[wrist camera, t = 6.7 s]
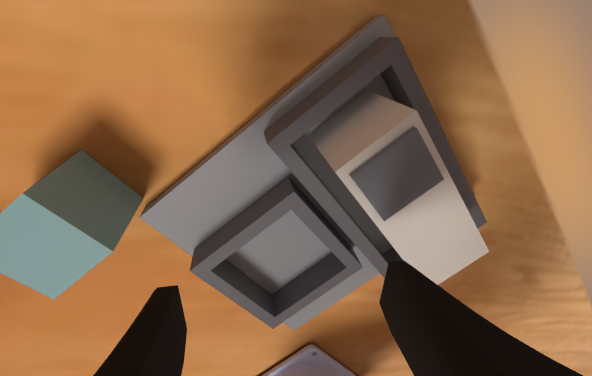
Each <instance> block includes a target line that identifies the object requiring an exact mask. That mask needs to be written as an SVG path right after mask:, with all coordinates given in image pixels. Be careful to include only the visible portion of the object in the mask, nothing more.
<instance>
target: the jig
mask: <svg viewBox="0 0 592 376" xmlns="http://www.w3.org/2000/svg"><path fill="white" fill-rule="evenodd" d="M366 90H369V91H371V92H374V93H376V94H378V95H381V96H383V97H386V98H388V99H390V100H393V101H395V102H398V103H400V104H403V105H405V106H407V107H410V108H412V109H415V110H417V112H418V114H419V116H420V118H421V120H422V122H423V124H424V126H425V128H426V130H427V132H428V134H429V135H430V137H431V139H432V141H433V143H434V145H435V147H436V149H437V151H438V153H439V155H440V157H441V159H442V161H443V163H444V165H445V167H446V169H447V170H448V172H449V174H450V176H451V178H452V180H453V182H454V184H455V186H456V188H457V190H458V192H459V194H460V196H461V198H462V200H463V202H464V204H465V206H466V207H467V209H468V211H469V213H470V215H471V217H472V219H473V221H474V223H475V225H476V227H477V228H479V227H480V226H482V225H483V224H485V223H486V219H485V217H484V215H483V213H482V211H481V209H480V207H479V205H478V203H477V201H476V199H475V196H474V194H473V192H472V190H471V188H470V186H469V184H468V182H467V180H466V178H465V176H464V173H463V171H462V169H461V167H460V165H459V163H458V161H457V159H456V157H455V155H454V153H453V150H452V148H451V146H450V144H449V142H448V140H447V138H446V136H445V134H444V132H443V130H442V127H441V125H440V123H439V121H438V119H437V117H436V115H435V113H434V111H433V109H432V107H431V104H430V102H429V100H428V98H427V96H426V94H425V92H424V90H423V88H422V86H421V84H420V82H419V79H418V77H417V75H416V73H415V71H414V69H413V67H412V65H411V63H410V61H409V59H408V56H407V54H406V52H405V50H404V48H403V46H402V44H401V42H400V40H399V38H398V37H395V35H394V33H393V31H392V29H391V27H390V25H389V23H388V21H387V19H386V17H385V15H379V16H375V17H374V18H373V19H372V20H370V21H369V22H368V23H367V24H366V25H364V26H363V27H362V28H361V29H360V30H358V31H357V32H356V33H355V34H354V35H352V36H351V37H350V38H349V39H348V40H346V41H345V42H344V43H343V44H342V45H340V46H339V47H338V48H337V49H336V50H334V51H333V52H332V53H331V54H330V55H328V56H327V57H326V58H325V59H324V60H322V61H321V62H320V63H319V64H318V65H316V66H315V67H314V68H313V69H312V70H310V71H309V72H308V73H307V74H306V75H304V76H303V77H302V78H301V79H300V80H298V81H297V82H296V83H295V84H293V85H292V86H291V87H290V88H289V89H287V90H286V91H285V92H284V93H283V94H281V95H280V96H279V97H278V98H277V99H275V100H274V101H273V102H272V103H271V104H269V105H268V106H267V107H266V108H265V109H263V110H262V111H261V112H260V113H259V114H257V115H256V116H255V117H254V118H253V119H251V120H250V121H249V122H248V123H247V124H245V125H244V126H243V127H242V128H241V129H239V130H238V131H237V132H236V133H235V134H233V135H232V136H231V137H230V138H229V139H227V140H226V141H225V142H224V143H223V144H221V145H220V146H219V147H218V148H217V149H215V150H214V151H213V152H212V153H210V154H209V155H208V156H207V157H206V158H204V159H203V160H202V161H201V162H200V163H198V164H197V165H196V166H195V167H194V168H192V169H191V170H190V171H189V172H188V173H186V174H185V175H184V176H183V177H182V178H180V179H179V180H178V181H177V182H176V183H174V184H173V185H172V186H171V187H170V188H168V189H167V190H166V191H165V192H164V193H162V194H161V195H160V196H159V197H158V198H156V199H155V200H154V201H153V202H152V203H150V204H149V205H148V206H147V207H146V208H144V210H143V212H142V214H141V216H140V218H141V219H142V220H144V221H145V222H146V223H148V224H149V225H150V226H152V227H153V228H154V229H156V230H157V231H159V232H160V233H161V234H163V235H164V236H165V237H167V238H168V239H170V240H171V241H172V242H174V243H175V244H176V245H178V246H179V247H181V248H182V249H183V250H185V251H186V252H187V253H189V254H190V255H191V256H193V257H192V262H191V268H190V271H191V272H192V273H194V274H195V275H197V276H198V277H199V278H201V279H202V280H204V281H205V282H207V283H208V284H209V285H211V286H212V287H214V288H215V289H217V290H218V291H220V292H221V293H222V294H224V295H225V296H227V297H228V298H230V299H231V300H232V301H234V302H235V303H237V304H238V305H240V306H241V307H243V308H244V309H245V310H247V311H248V312H250V313H251V314H253V315H254V316H255V317H257V318H258V319H260V320H261V321H263V322H264V323H266V324H267V325H268V326H270V327H271V328H275V327H276V326H278V325H279V324H281V323H282V322H283V323H285V324H286V325H287V326H289V327H290V328H291V329H293V330H296V329H297V328H298V327H300V326H301V325H303V324H304V323H306V322H307V321H309V320H310V319H312V318H313V317H315V316H316V315H318V314H319V313H321V312H322V311H324V310H325V309H327V308H328V307H330V306H331V305H333V304H334V303H336V302H337V301H339V300H340V299H342V298H343V297H345V296H346V295H348V294H349V293H351V292H352V291H354V290H355V289H357V288H358V287H359V286H361V285H362V284H364V283H365V282H367V281H368V280H370V279H371V278H373V277H374V276H376V275H377V274H379V273H380V274H381V275H382V276H383V277H384V278H385V276H386V271H387V267H388V262H395V261H404V260H403V259H402V258H401V257H400V255H399V254H398V253H397V251H396V250H395V249H394V248H393V246H392V245H391V244H390V242H389V241H388V240H387V239H386V237H385V236H384V235H383V233H382V232H381V231H380V230H379V228H378V227H377V226H376V224H375V223H374V222H373V221H372V219H371V218H370V217H369V215H368V214H367V213H366V211H365V210H364V209H363V208H362V206H361V205H360V204H359V202H358V201H357V200H356V199H355V197H354V196H353V195H352V193H351V192H350V191H349V190H348V188H347V187H346V186H345V184H344V183H343V182H342V181H341V179H340V178H339V177H338V175H337V174H336V173H335V172H334V170H333V169H332V167H331V166H330V165H329V163H328V162H327V161H326V159H325V158H324V156H323V155H322V154H321V152H320V151H319V150H318V148H317V147H316V145H315V144H314V143H313V141H312V140H311V139H310V137H309V135H311V134H312V133H313V132H314V131H316V130H317V129H318V128H319V127H321V126H322V125H323V124H324V123H326V122H327V121H328V120H329V119H331V118H332V117H333V116H334V115H336V114H337V113H338V112H340V111H341V110H342V109H343V108H345V107H346V106H347V105H348V104H350V103H351V102H352V101H353V100H355V99H356V98H357V97H358V96H360V95H361V94H362V93H364V92H365V91H366Z"/></svg>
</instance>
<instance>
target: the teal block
mask: <svg viewBox="0 0 592 376" xmlns="http://www.w3.org/2000/svg"><path fill="white" fill-rule="evenodd" d="M142 200H143V197H141V196H140V195H139V194H137V193H136V192H135V191H134V190H132V189H131V188H130V187H128V186H127V185H126V184H125V183H123V182H122V181H121V180H119V179H118V178H117V177H116V176H114V175H113V174H112V173H110V172H109V171H108V170H107V169H105V168H104V167H103V166H101V165H100V164H99V163H98V162H96V161H95V160H94V159H92V158H91V157H90V156H89V155H87V154H86V153H85V152H83V151H82V150H80V151H79V152H78V153H76V154H75V155H74V156H72V157H71V158H70V159H68V160H67V161H66V162H64V163H63V164H61V165H60V166H59V167H57V168H56V169H55V170H53V171H52V172H51V173H49V174H48V175H47V176H45V177H44V178H43V179H41V180H40V181H39V182H37V183H36V184H34V185H33V186H32V187H30V188H29V189H28V190H26V191H25V192H24V193H22V194H21V195H20V196H19V197H18V198H17V199H16V200H15V201H14V202H12V203H11V204H10V205H9V206H8V207H7V208H6V209H5V210H4V211H3V212H1V213H0V273H2V274H4V275H6V276H8V277H10V278H12V279H14V280H16V281H18V282H20V283H22V284H24V285H26V286H28V287H30V288H32V289H34V290H36V291H38V292H40V293H42V294H44V295H46V296H48V297H50V298H52V299H55V298H56V297H58V296H59V295H60V294H61V293H63V292H64V291H65V290H66V289H67V288H69V287H70V286H71V285H72V284H74V283H75V282H76V281H77V280H79V279H80V278H81V277H82V276H84V275H85V274H86V273H87V272H88V271H90V270H91V269H92V268H93V267H95V266H96V265H97V264H98V263H100V262H101V261H102V260H103V259H104V258H106V257H107V256H108V255H109V254H111V253H112V252H113V251H114V249H115V247H116V246H117V244H118V242H119V240H120V238H121V237H122V235H123V233H124V231H125V230H126V228H127V226H128V224H129V223H130V221H131V219H132V217H133V216H134V214H135V212H136V210H137V209H138V207H139V205H140V203H141V202H142Z"/></svg>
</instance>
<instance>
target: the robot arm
mask: <svg viewBox="0 0 592 376" xmlns="http://www.w3.org/2000/svg"><path fill="white" fill-rule="evenodd" d="M380 305H381V308H382V311H383V313H384V316H385V319H386V321H387V324H388V326H389V329H390V331H391V333H392V335H393V337H394V339H395V341H396V342H397V344H398V346H399V348H400V350H401V352H402V354H403V356H404V357H405V359H406V361H407V363H408V365H409V367H410V369H411V370H412V372H413V374H414V376H583V375H581V374H579V373H577V372H575V371H573V370H571V369H569V368H567V367H566V366H564V365H562V364H560V363H558V362H556V361H554V360H552V359H551V358H549V357H547V356H545V355H543V354H542V353H540V352H538V351H536V350H535V349H533V348H531V347H530V346H528V345H526V344H525V343H523V342H521V341H519V340H518V339H516V338H514V337H513V336H511V335H509V334H508V333H506V332H505V331H503V330H501V329H500V328H498V327H497V326H495V325H494V324H492V323H491V322H489V321H488V320H486V319H485V318H483V317H482V316H480V315H479V314H477V313H476V312H474V311H473V310H471V309H470V308H469V307H467V306H466V305H464V304H463V303H461V302H460V301H459V300H457V299H456V298H454V297H453V296H452V295H450V294H449V293H448V292H446V291H445V290H444V289H442V288H441V287H440V286H438V285H437V284H435V283H434V282H433V281H431V280H430V279H429V278H427V277H426V276H425V275H423V274H422V273H421V272H419V271H418V270H417V269H415V268H414V267H413V266H411V265H410V264H408V263H407V262H406V261H395V262H388V267H387V271H386V276H385V280H384V285H383V289H382V294H381V298H380ZM186 334H187V327H186V322H185V317H184V313H183V308H182V303H181V298H180V294H179V289H178V285H177V286H168V287H159V288H157V289H156V290H155V291H154V292H153V293H152V295H151V297H150V298H149V300H148V301H147V303H146V304H145V306H144V307H143V309H142V310H141V312H140V313H139V315H138V316H137V318H136V319H135V320H134V322H133V323H132V325H131V326H130V328H129V329H128V330H127V332H126V333H125V335H124V336H123V337H122V339H121V340H120V341H119V343H118V344H117V345H116V347H115V348H114V350H113V351H112V352H111V354H110V355H109V356H108V358H107V359H106V360H105V362H104V363H103V364H102V365H101V367H100V368H99V369H98V370H97V372H96V373H95V374H94V375H93V376H181V373H182V368H183V363H184V354H185V345H186ZM262 376H356V375H355V374H353V373H352V372H350V371H349V370H348V369H346V368H345V367H344V366H342V365H341V364H340V363H338V362H337V361H335V360H334V359H333V358H331V357H330V356H329V355H327V354H326V353H324V352H323V351H322V350H320V349H319V348H318V347H316V346H315V345H312V344H311V345H308V346H306V347H304V348H303V349H301V350H300V351H298V352H297V353H295V354H294V355H292V356H291V357H289V358H288V359H286V360H285V361H283V362H282V363H280V364H279V365H277V366H276V367H274V368H272V369H271V370H269V371H268V372H266V373H265V374H263V375H262Z"/></svg>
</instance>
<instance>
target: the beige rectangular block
mask: <svg viewBox="0 0 592 376" xmlns="http://www.w3.org/2000/svg"><path fill="white" fill-rule="evenodd" d="M309 137H310V139H311V140H312V141H313V143H314V144H315V145H316V147H317V148H318V150H319V151H320V152H321V154H322V155H323V156H324V158H325V159H326V161H327V162H328V163H329V165H330V166H331V167H332V169H333V170H334V172H335V173H336V174H337V175H338V177H339V178H340V179H341V181H342V182H343V183H344V184H345V186H346V187H347V188H348V190H349V191H350V192H351V193H352V195H353V196H354V197H355V199H356V200H357V201H358V202H359V204H360V205H361V206H362V208H363V209H364V210H365V211H366V213H367V214H368V215H369V217H370V218H371V219H372V221H373V222H374V223H375V224H376V226H377V227H378V228H379V230H380V231H381V232H382V233H383V235H384V236H385V237H386V239H387V240H388V241H389V242H390V244H391V245H392V246H393V248H394V249H395V250H396V251H397V253H398V254H399V255H400V257H401V258H402V259H403V260H404V261H406V262H407V263H408V264H410V265H411V266H413V267H414V268H415V269H417V270H418V271H419V272H421V273H422V274H423V275H425V276H426V277H427V278H429V279H430V280H431V281H433V282H434V283H435V284H437V285H438V284H440V283H441V282H443V281H445V280H446V279H448V278H449V277H451V276H452V275H454V274H455V273H457V272H459V271H460V270H462V269H463V268H465V267H466V266H468V265H469V264H471V263H473V262H474V261H476V260H477V259H479V258H480V257H482V256H483V255H485V254H487V253H488V252H489V250H488V248H487V246H486V244H485V242H484V241H483V239H482V237H481V235H480V233H479V231H478V229H477V227H476V225H475V223H474V221H473V219H472V217H471V215H470V213H469V211H468V209H467V207H466V206H465V204H464V202H463V200H462V198H461V196H460V194H459V192H458V190H457V188H456V186H455V184H454V182H453V180H452V178H451V176H450V174H449V172H448V170H447V169H446V167H445V165H444V163H443V161H442V159H441V157H440V155H439V153H438V151H437V149H436V147H435V145H434V143H433V141H432V139H431V137H430V135H429V134H428V132H427V130H426V128H425V126H424V124H423V122H422V120H421V118H420V116H419V114H418V112H417V110H415V109H412V108H410V107H407V106H405V105H403V104H400V103H398V102H395V101H393V100H390V99H388V98H386V97H383V96H381V95H378V94H376V93H374V92H371V91H369V90H366V91H365V92H364V93H362V94H361V95H360V96H358V97H357V98H356V99H355V100H353V101H352V102H351V103H350V104H348V105H347V106H346V107H345V108H343V109H342V110H341V111H340V112H338V113H337V114H336V115H334V116H333V117H332V118H331V119H329V120H328V121H327V122H326V123H324V124H323V125H322V126H321V127H319V128H318V129H317V130H316V131H314V132H313V133H312V134H311V135H309Z"/></svg>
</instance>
